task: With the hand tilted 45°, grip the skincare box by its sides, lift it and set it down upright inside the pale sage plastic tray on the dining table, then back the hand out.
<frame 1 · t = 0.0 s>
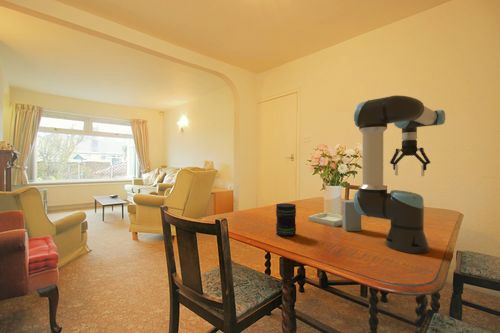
hand: (409, 175, 142), 28 cm above the table, tool pointing down, fingers open, 13 cm apart
storage jar: (285, 235, 119), on the table
sage tray: (329, 221, 146), on the table
skincare box: (351, 230, 127), on the table
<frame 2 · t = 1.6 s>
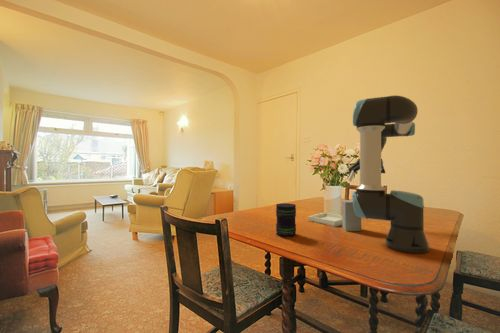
hand: (361, 180, 134), 26 cm above the table, tool tilted 45°, fingers open, 13 cm apart
nothing on the table moved.
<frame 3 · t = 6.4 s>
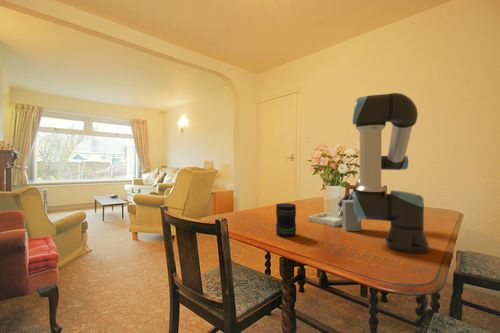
hand: (348, 218, 125), 6 cm above the table, tool tilted 45°, fingers closed on skincare box, 10 cm apart
skincare box: (351, 230, 127), on the table, touching gripper
everything else where it was.
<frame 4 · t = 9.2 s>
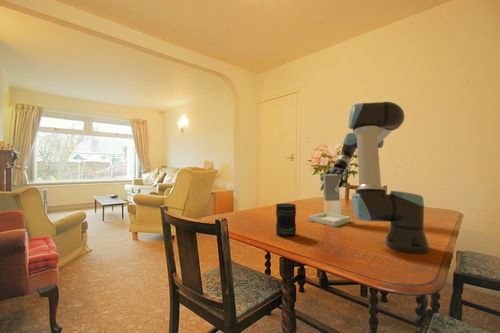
hand: (328, 190, 143), 20 cm above the table, tool tilted 45°, fingers closed on skincare box, 10 cm apart
skincare box: (331, 200, 145), point 13 cm above the table, touching gripper
everything else where it was.
when the fingers open (9 cm above the table, at t = 12.1 s): skincare box drops 2 cm, resting on sage tray.
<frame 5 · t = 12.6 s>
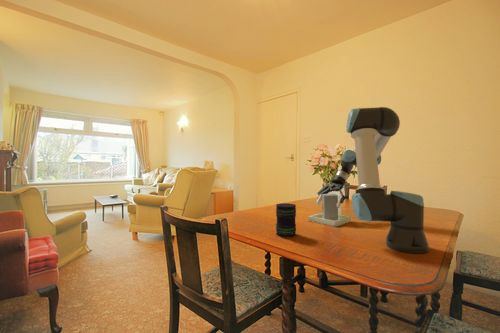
hand: (327, 205, 145), 10 cm above the table, tool tilted 45°, fingers open, 13 cm apart
skincare box: (329, 220, 146), point 1 cm above the table, touching sage tray
everything else where it was.
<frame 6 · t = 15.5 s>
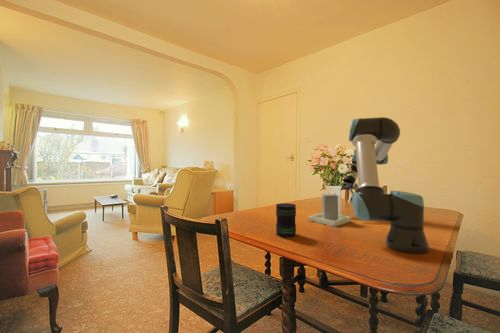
hand: (338, 202, 153), 10 cm above the table, tool tilted 45°, fingers open, 13 cm apart
nothing on the table moved.
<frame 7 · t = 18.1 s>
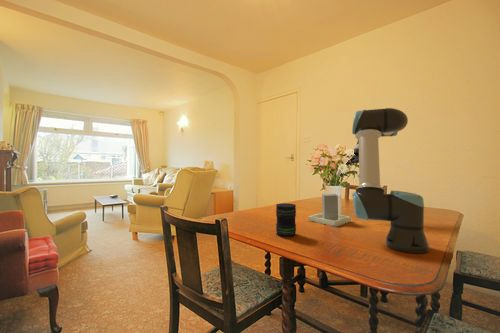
hand: (347, 176, 148), 28 cm above the table, tool tilted 45°, fingers open, 13 cm apart
nothing on the table moved.
at the end: skincare box inside the target area on the sage tray (0.4 cm from its centre), point 0.8 cm above the sage tray's base; skincare box tilted 0°; the gripper is holding nothing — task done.
